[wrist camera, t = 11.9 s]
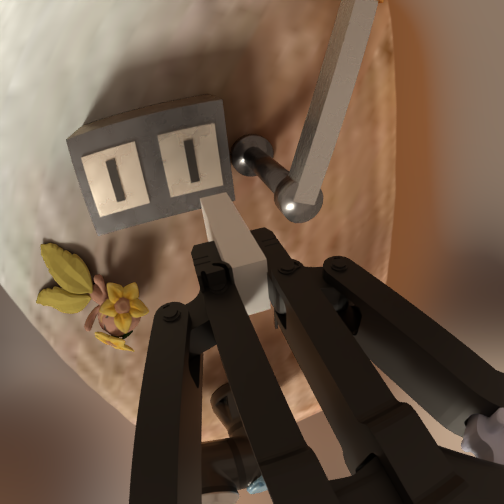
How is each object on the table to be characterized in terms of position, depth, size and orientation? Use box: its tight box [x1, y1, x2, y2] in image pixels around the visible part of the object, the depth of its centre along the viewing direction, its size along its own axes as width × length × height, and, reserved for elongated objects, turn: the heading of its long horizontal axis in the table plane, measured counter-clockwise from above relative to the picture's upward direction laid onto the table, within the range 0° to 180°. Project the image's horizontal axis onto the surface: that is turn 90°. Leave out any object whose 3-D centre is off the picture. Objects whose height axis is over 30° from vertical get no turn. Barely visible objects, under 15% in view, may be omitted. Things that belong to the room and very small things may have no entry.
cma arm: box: [274, 0, 384, 223], centre depth 20 cm, size 4×23×2 cm, turn 164°
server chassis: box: [66, 94, 235, 236], centre depth 28 cm, size 10×14×8 cm
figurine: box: [36, 243, 149, 352], centre depth 36 cm, size 12×9×15 cm
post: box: [230, 134, 289, 193], centre depth 31 cm, size 5×5×11 cm
